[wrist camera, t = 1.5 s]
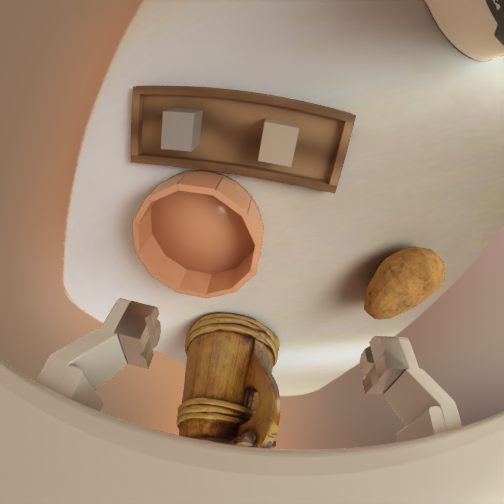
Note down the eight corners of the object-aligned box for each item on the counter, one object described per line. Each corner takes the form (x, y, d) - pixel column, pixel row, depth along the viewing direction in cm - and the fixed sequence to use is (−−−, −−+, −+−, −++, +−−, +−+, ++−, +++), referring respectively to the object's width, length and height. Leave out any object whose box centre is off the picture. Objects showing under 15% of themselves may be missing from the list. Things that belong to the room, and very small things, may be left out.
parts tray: (140, 86, 28) (133, 86, 26) (351, 113, 28) (355, 115, 26) (137, 158, 33) (131, 162, 32) (332, 188, 34) (334, 193, 32)
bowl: (148, 164, 34) (129, 178, 29) (272, 180, 34) (271, 198, 29) (152, 262, 43) (139, 284, 39) (252, 280, 43) (249, 305, 39)
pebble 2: (265, 117, 29) (264, 121, 26) (296, 123, 29) (299, 128, 26) (259, 153, 31) (258, 161, 29) (289, 158, 32) (291, 167, 29)
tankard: (175, 342, 56) (142, 448, 35) (232, 277, 44) (200, 432, 23) (245, 374, 60) (232, 474, 40) (316, 324, 48) (324, 458, 28)
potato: (344, 273, 41) (353, 310, 35) (416, 220, 35) (440, 251, 28) (373, 304, 45) (384, 339, 38) (438, 259, 38) (458, 291, 32)
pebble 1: (174, 108, 29) (163, 111, 26) (202, 109, 29) (194, 113, 26) (171, 141, 31) (160, 148, 28) (199, 144, 31) (190, 151, 28)
